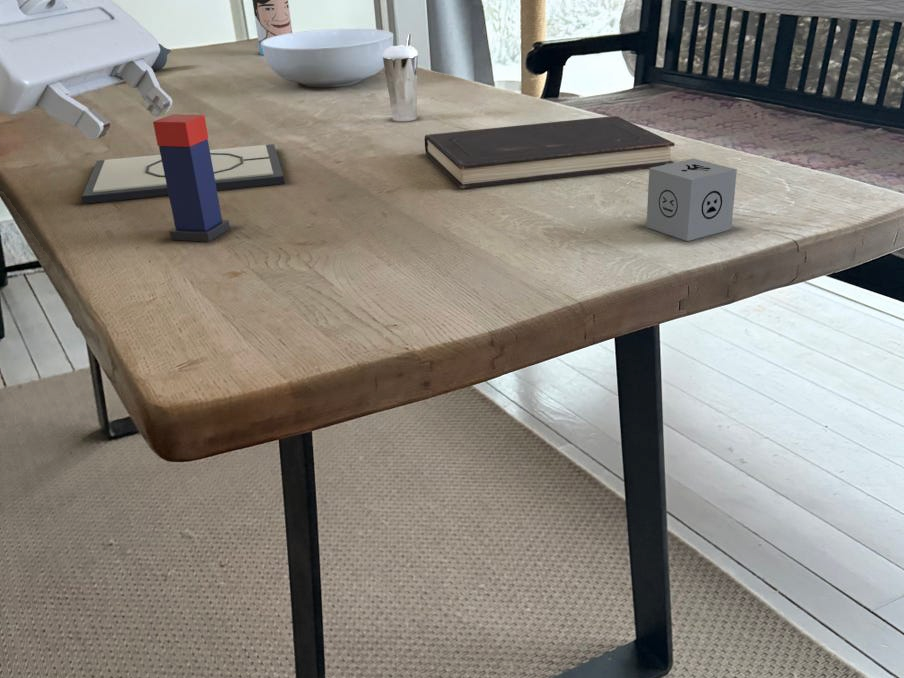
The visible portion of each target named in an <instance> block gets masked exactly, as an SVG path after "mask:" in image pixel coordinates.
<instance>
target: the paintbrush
mask: <svg viewBox="0 0 904 678" xmlns="http://www.w3.org/2000/svg"><path fill="white" fill-rule="evenodd" d="M158 44H159V47H160V53H159V55H158V57H157V59H156V60H155V62H154V64H153V65H152V67H151V68H152V70H153V72H157V71H160V70H162V69H163V68H165V66H166V64H167V61H168V55H169V54H170V53H171V52H172V50H171V49H169V48H167V47H165V46H163V44H161V43H159V42H158Z"/></svg>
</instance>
